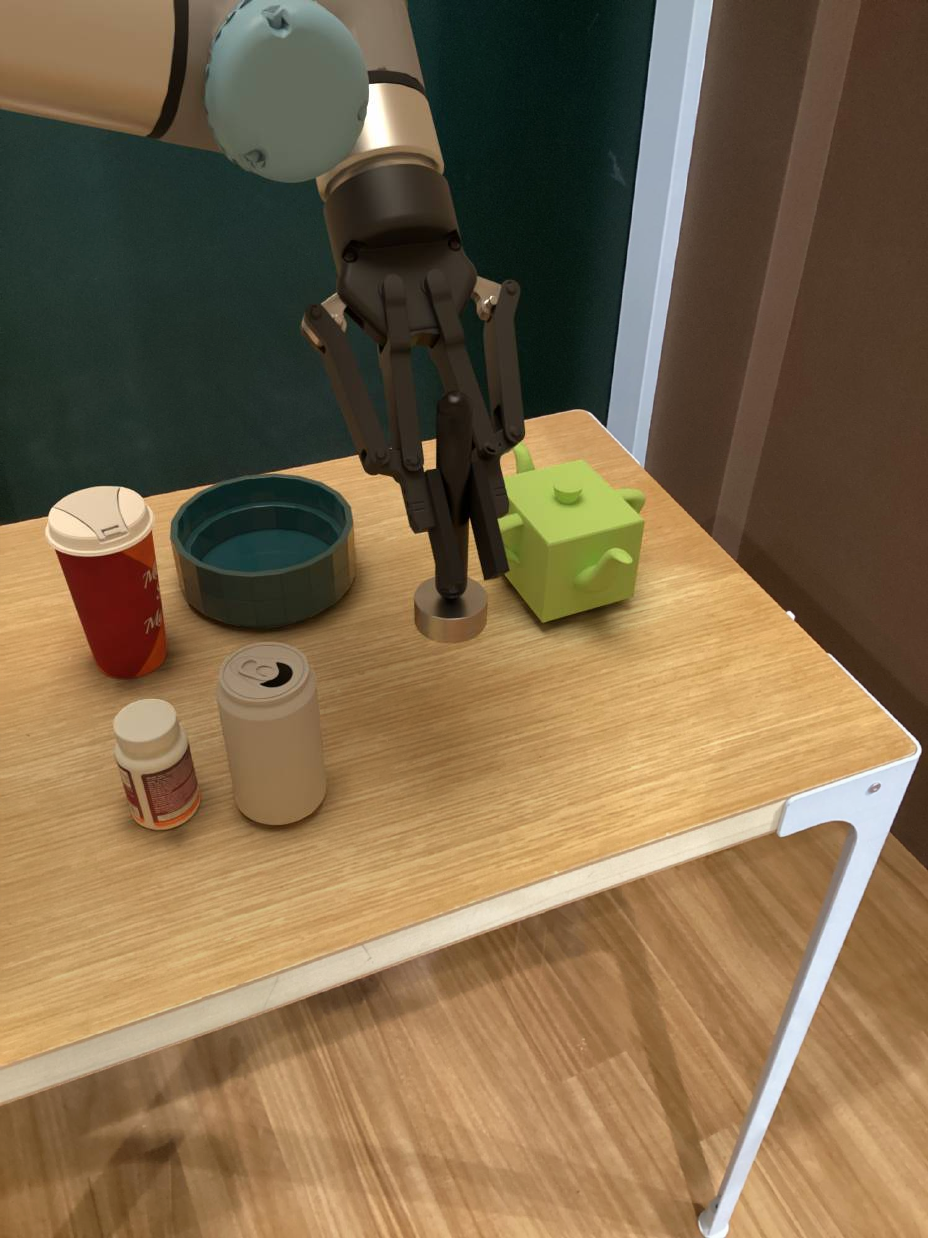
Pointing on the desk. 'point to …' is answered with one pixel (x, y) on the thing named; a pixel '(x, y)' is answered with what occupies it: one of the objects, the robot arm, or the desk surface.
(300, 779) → the beverage can
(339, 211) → the robot arm
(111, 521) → the paper cup
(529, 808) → the desk surface
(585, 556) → the teapot
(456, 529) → the rod on base
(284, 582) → the bowl
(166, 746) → the pill bottle
